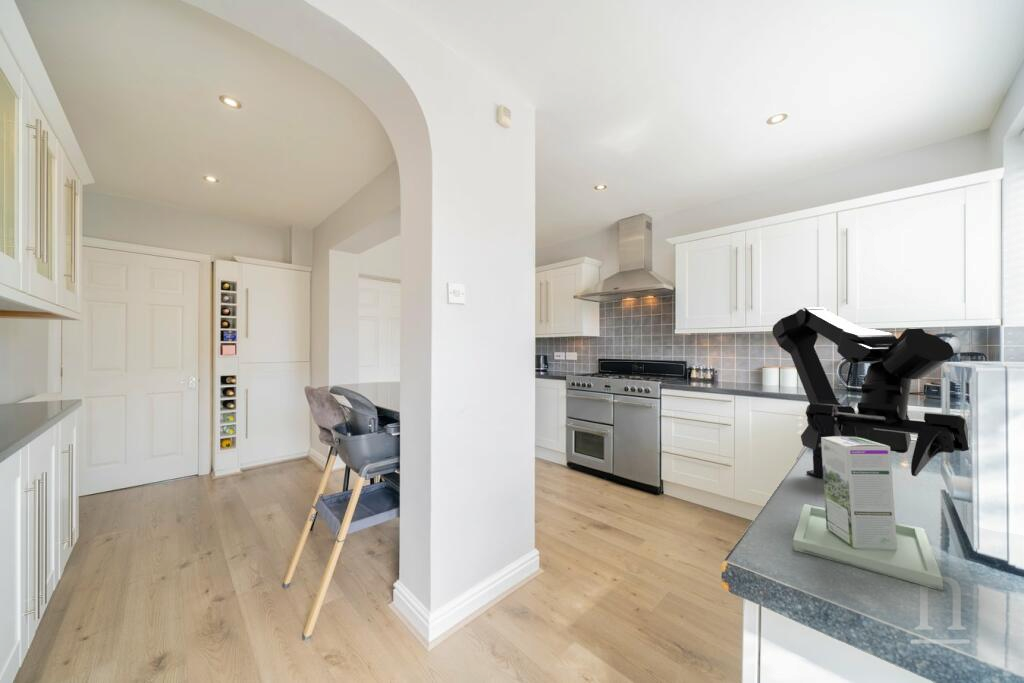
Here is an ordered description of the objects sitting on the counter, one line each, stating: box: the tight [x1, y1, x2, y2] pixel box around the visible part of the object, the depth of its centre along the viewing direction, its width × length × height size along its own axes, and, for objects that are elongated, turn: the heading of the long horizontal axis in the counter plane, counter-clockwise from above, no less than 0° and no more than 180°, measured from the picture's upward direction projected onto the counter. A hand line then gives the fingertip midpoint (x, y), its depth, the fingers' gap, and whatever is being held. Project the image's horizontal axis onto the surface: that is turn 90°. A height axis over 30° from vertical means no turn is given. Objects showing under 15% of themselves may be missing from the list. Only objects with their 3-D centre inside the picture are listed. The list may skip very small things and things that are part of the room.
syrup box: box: [821, 436, 897, 551], centre depth 54 cm, size 6×6×14 cm
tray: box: [792, 503, 944, 591], centre depth 54 cm, size 16×14×2 cm
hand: (871, 467), depth 59 cm, fingers open, 9 cm apart
